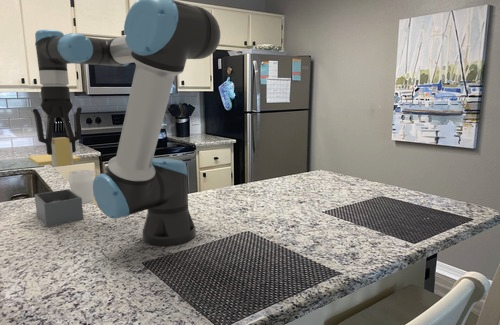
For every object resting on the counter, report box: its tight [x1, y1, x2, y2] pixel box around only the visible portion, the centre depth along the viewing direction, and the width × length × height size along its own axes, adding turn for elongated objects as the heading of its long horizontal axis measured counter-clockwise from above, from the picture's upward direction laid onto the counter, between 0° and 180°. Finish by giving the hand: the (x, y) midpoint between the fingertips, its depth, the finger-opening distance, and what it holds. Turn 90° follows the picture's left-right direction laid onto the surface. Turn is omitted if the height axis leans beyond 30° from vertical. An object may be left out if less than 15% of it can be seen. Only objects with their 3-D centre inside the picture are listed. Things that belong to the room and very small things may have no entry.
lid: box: [27, 136, 82, 167], centre depth 121 cm, size 21×12×8 cm, turn 39°
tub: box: [34, 188, 84, 228], centre depth 127 cm, size 15×11×8 cm
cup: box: [68, 169, 95, 205], centre depth 145 cm, size 9×9×12 cm
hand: (62, 164), depth 115 cm, fingers closed on lid, 4 cm apart
